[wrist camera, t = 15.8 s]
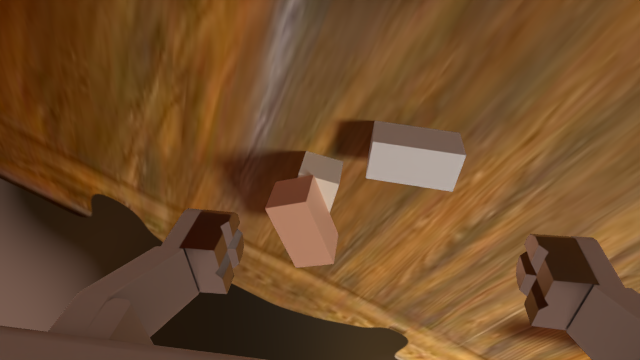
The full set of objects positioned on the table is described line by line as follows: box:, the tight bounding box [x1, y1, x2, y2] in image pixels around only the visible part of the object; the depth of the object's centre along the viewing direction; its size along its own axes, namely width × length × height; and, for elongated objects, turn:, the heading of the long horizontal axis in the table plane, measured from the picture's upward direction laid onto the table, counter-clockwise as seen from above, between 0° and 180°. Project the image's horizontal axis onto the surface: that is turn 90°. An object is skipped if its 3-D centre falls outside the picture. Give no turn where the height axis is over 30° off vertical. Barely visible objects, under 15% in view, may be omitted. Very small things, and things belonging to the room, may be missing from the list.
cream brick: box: [298, 151, 343, 213], centre depth 51 cm, size 5×10×5 cm, turn 166°
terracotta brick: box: [265, 175, 338, 268], centre depth 47 cm, size 5×10×5 cm, turn 18°
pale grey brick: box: [366, 121, 466, 192], centre depth 45 cm, size 5×10×5 cm, turn 85°
